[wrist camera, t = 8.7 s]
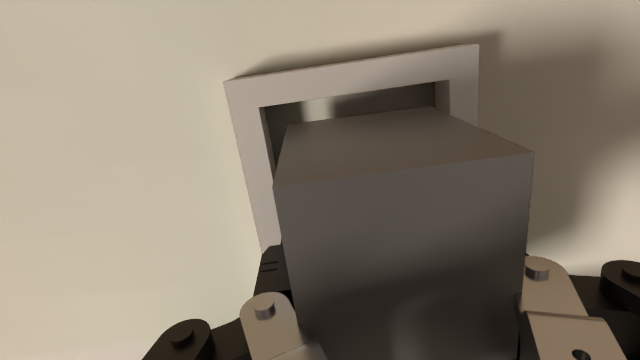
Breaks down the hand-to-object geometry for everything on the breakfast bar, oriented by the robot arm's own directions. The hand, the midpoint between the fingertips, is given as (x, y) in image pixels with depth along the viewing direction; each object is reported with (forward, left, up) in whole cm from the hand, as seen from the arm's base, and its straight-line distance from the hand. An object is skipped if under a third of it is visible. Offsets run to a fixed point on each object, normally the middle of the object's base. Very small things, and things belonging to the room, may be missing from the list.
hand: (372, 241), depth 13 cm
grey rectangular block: (0, 0, -1) cm, 1 cm away
